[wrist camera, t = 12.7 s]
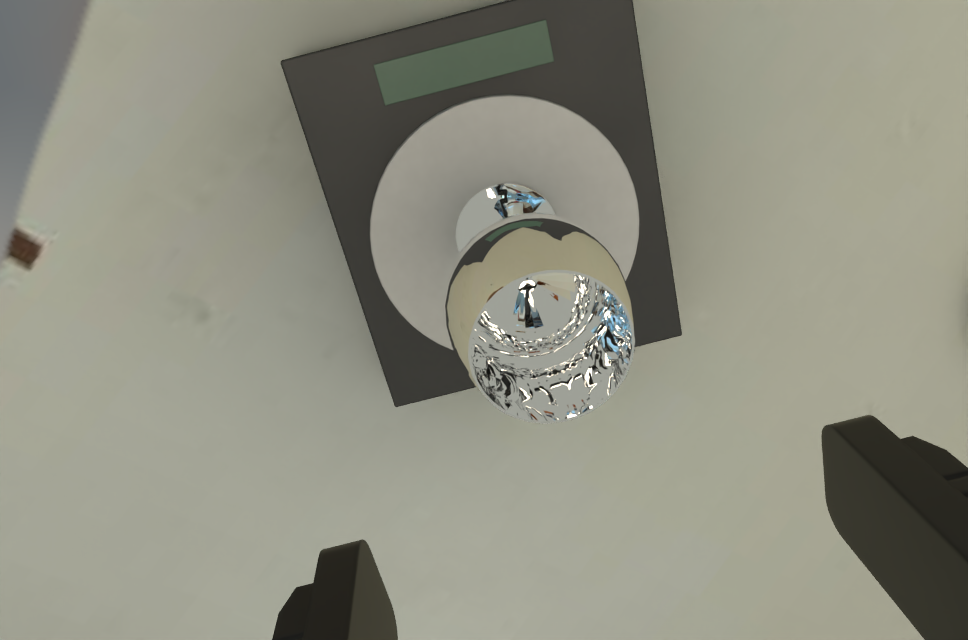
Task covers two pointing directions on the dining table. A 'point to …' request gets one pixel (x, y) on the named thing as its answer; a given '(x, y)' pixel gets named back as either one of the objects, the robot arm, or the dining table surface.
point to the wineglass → (536, 307)
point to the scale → (482, 159)
